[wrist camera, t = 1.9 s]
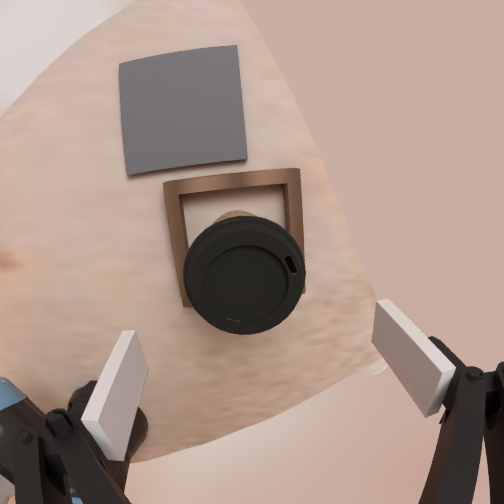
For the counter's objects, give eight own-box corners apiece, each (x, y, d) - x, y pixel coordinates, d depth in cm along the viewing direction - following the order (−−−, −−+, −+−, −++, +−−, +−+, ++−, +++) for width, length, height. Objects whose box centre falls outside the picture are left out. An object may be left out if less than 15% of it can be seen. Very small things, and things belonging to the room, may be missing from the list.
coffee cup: (181, 218, 35) (155, 259, 21) (256, 180, 35) (279, 196, 21) (220, 286, 38) (220, 358, 24) (290, 252, 38) (328, 308, 24)
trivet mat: (129, 174, 33) (127, 175, 32) (121, 65, 29) (119, 63, 28) (247, 158, 34) (247, 158, 33) (236, 47, 30) (237, 45, 29)
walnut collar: (185, 298, 38) (183, 307, 36) (167, 181, 34) (163, 183, 31) (300, 285, 39) (305, 293, 37) (294, 167, 35) (299, 168, 32)
